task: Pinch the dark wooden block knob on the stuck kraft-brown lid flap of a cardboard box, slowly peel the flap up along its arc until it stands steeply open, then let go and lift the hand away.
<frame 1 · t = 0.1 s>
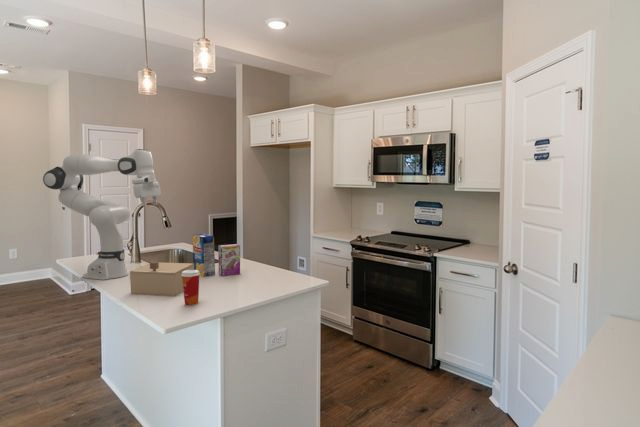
hand: (150, 205, 222), 39 cm above the countertop, tool pointing down, fingers open, 8 cm apart
carton: (164, 289, 202), on the countertop
paper cup: (191, 303, 180), on the countertop
candy bar box: (229, 274, 232), on the countertop
lid flap: (163, 263, 201), point 12 cm above the countertop, hinge at 0.0°
beverage box: (204, 274, 232), on the countertop
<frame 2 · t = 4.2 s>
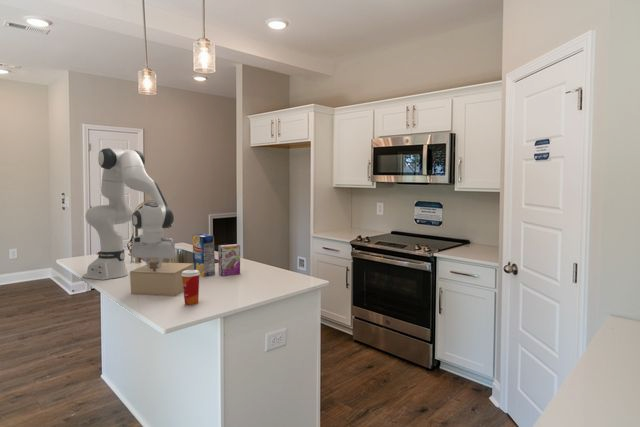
hand: (154, 267, 193), 12 cm above the countertop, tool pointing down, fingers closed on lid flap, 3 cm apart
lid flap: (163, 263, 201), point 12 cm above the countertop, hinge at 0.0°, touching gripper
everything else where it was.
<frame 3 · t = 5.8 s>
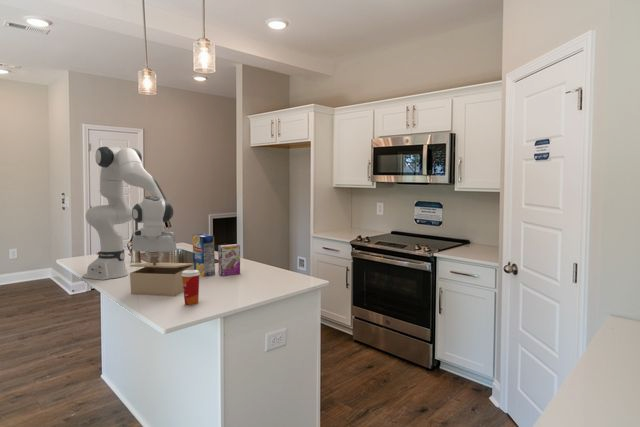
hand: (155, 261, 194), 15 cm above the countertop, tool pointing down, fingers closed on lid flap, 3 cm apart
lid flap: (163, 260, 201), point 14 cm above the countertop, hinge at 8.5°, touching gripper
everything else where it was.
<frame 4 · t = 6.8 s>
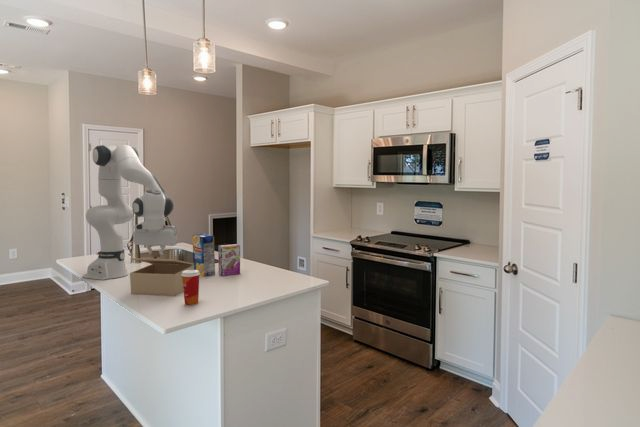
hand: (156, 254, 195), 18 cm above the countertop, tool pointing down, fingers closed on lid flap, 3 cm apart
lid flap: (164, 257, 202), point 15 cm above the countertop, hinge at 17.3°, touching gripper
everything else where it was.
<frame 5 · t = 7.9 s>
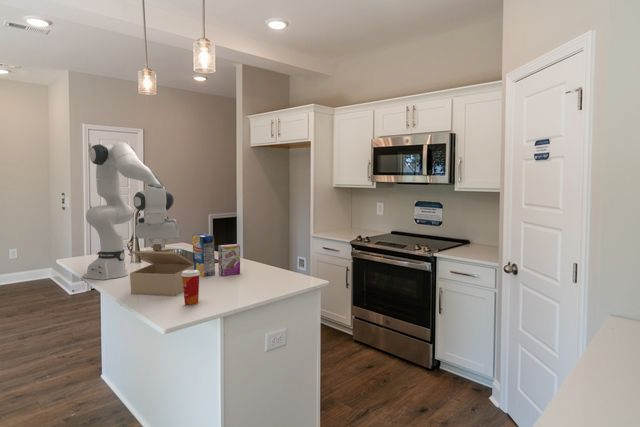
hand: (158, 248, 196), 21 cm above the countertop, tool pointing down, fingers closed on lid flap, 3 cm apart
lid flap: (165, 254, 203), point 17 cm above the countertop, hinge at 26.9°, touching gripper
everything else where it was.
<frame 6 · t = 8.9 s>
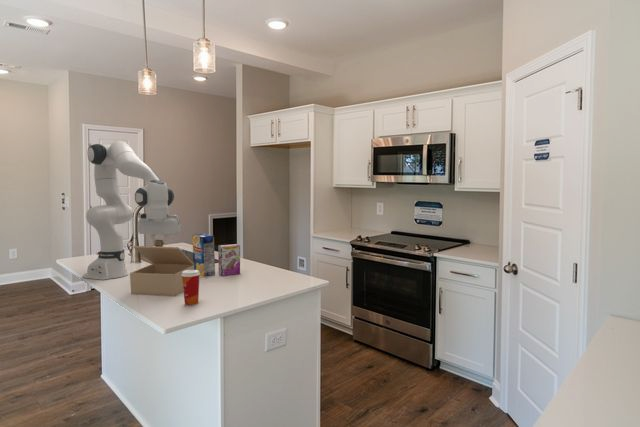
hand: (159, 243, 198), 23 cm above the countertop, tool pointing down, fingers closed on lid flap, 3 cm apart
lid flap: (166, 252, 204), point 18 cm above the countertop, hinge at 34.4°, touching gripper
everything else where it was.
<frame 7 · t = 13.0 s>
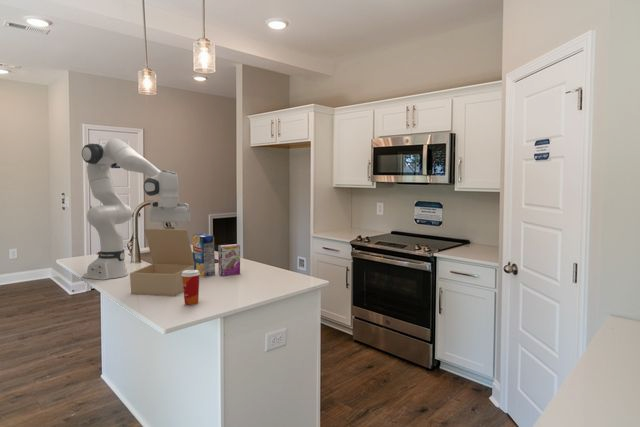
hand: (170, 230, 208), 27 cm above the countertop, tool pointing down, fingers closed on lid flap, 3 cm apart
lid flap: (171, 244, 209), point 20 cm above the countertop, hinge at 69.4°, touching gripper
everything else where it was.
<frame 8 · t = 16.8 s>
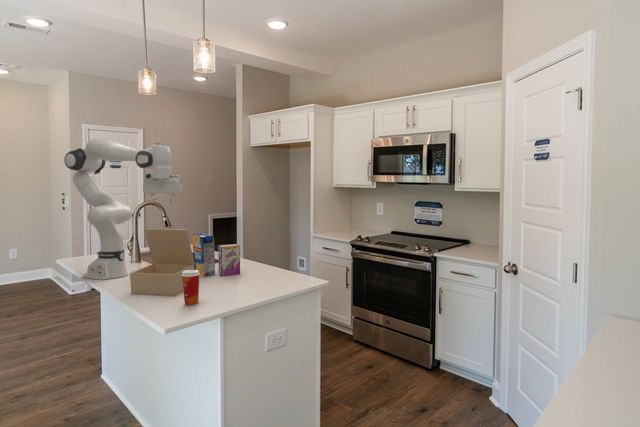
hand: (163, 202, 216), 41 cm above the countertop, tool pointing down, fingers open, 8 cm apart
lid flap: (171, 244, 209), point 20 cm above the countertop, hinge at 69.5°
everything else where it was.
at the end: lid flap at +70° (first picture: +0°); the gripper is holding nothing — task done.
